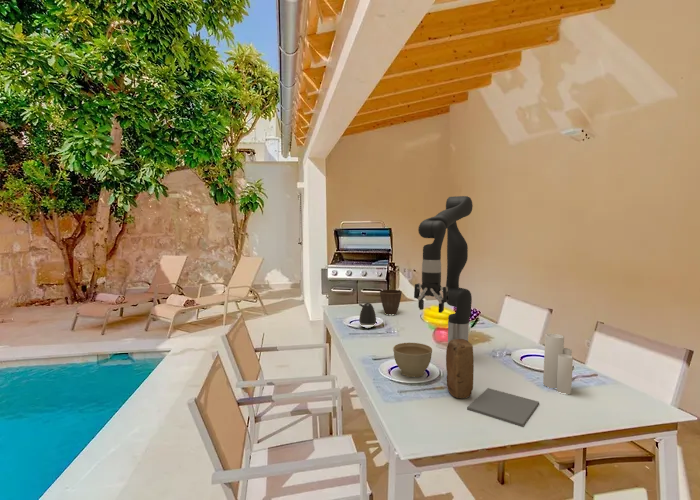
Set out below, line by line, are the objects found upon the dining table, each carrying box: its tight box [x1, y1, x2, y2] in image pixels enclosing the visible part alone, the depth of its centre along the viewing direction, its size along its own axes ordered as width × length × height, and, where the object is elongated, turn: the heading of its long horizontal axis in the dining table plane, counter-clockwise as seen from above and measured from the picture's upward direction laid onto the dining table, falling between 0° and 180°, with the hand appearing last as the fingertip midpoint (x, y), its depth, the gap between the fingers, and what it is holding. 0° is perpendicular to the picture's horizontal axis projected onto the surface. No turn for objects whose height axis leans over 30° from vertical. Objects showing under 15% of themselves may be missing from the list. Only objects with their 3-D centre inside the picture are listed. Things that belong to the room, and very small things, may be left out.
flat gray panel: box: [466, 387, 540, 428], centre depth 136 cm, size 20×18×1 cm
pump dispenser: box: [358, 302, 377, 326], centre depth 236 cm, size 10×10×15 cm
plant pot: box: [379, 289, 403, 315], centre depth 270 cm, size 15×15×16 cm
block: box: [445, 339, 475, 399], centre depth 145 cm, size 11×8×20 cm
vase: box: [542, 332, 574, 394], centre depth 150 cm, size 11×7×20 cm, turn 27°
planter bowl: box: [392, 342, 433, 378], centre depth 165 cm, size 16×16×11 cm
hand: (430, 310), depth 158 cm, fingers open, 8 cm apart
